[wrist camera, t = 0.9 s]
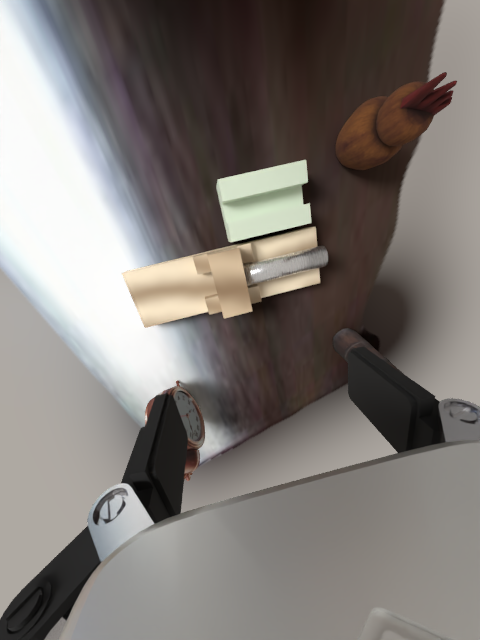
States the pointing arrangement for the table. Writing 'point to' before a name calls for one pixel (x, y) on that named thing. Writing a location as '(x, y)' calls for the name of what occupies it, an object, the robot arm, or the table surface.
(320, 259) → the steel axle
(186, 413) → the alarm clock
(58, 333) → the table surface
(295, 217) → the block
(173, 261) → the maple beam
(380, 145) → the wooden figurine
